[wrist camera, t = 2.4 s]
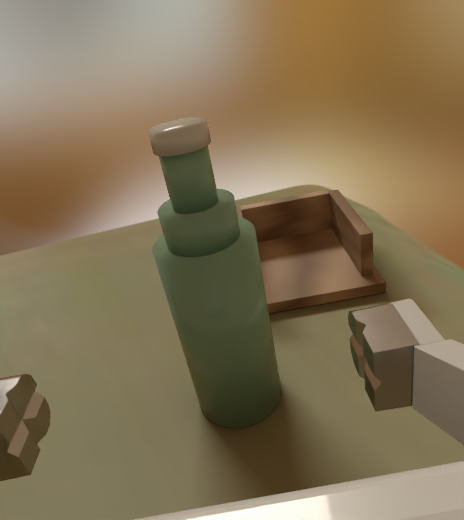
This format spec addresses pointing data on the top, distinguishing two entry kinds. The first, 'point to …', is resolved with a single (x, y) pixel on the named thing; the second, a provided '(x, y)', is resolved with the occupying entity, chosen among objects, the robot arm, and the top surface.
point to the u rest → (312, 250)
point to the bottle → (213, 282)
